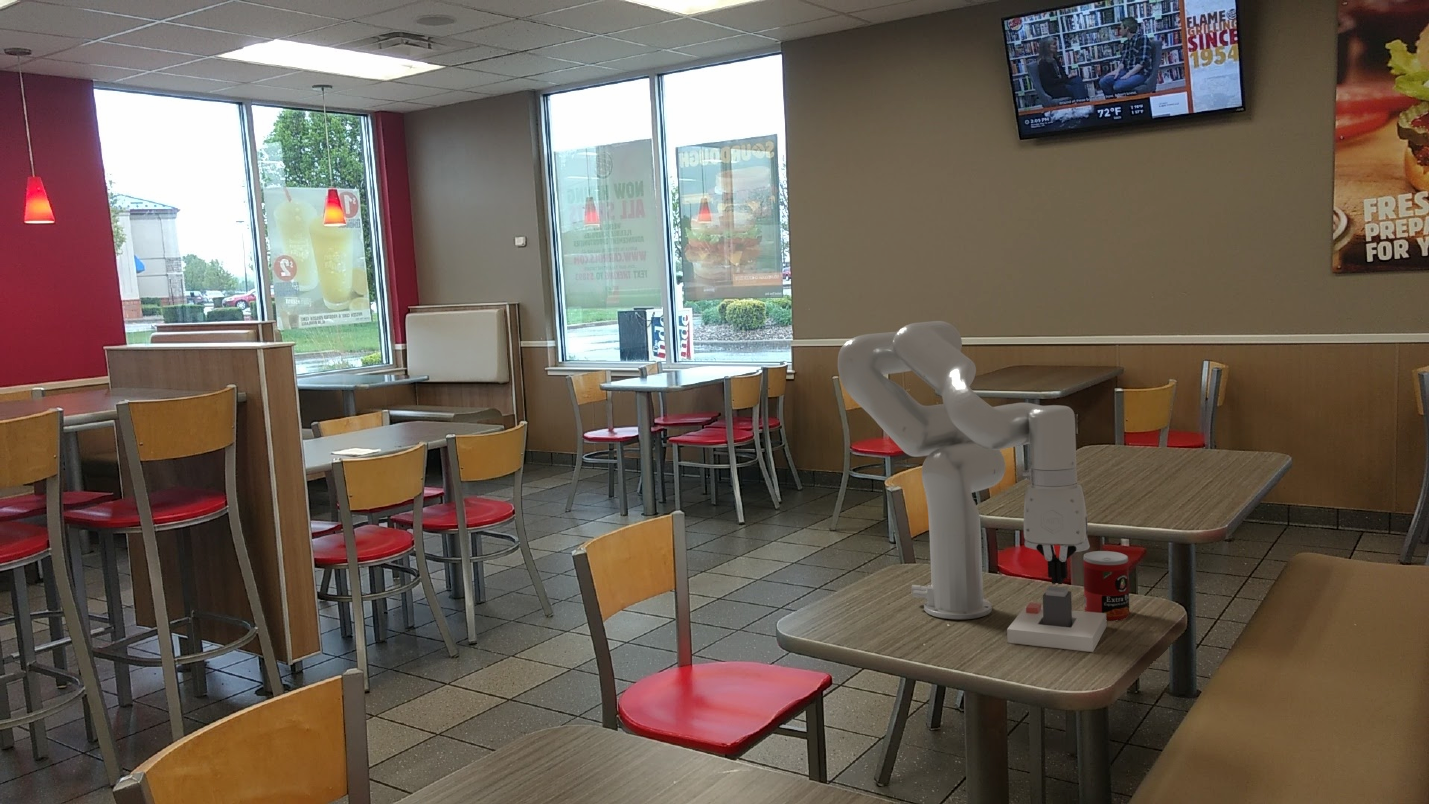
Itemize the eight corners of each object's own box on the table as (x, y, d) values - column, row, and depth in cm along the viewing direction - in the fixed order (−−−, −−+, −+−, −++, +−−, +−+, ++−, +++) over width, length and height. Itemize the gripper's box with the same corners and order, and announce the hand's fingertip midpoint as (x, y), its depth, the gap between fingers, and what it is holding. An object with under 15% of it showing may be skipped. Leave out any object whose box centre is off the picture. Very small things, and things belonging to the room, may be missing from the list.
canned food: (1107, 624, 185) (1105, 563, 184) (1075, 612, 192) (1073, 554, 191) (1139, 616, 188) (1138, 557, 187) (1106, 605, 195) (1105, 548, 194)
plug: (1043, 634, 180) (1042, 591, 179) (1048, 628, 184) (1047, 585, 183) (1067, 637, 178) (1066, 593, 177) (1072, 630, 182) (1071, 587, 181)
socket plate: (1007, 642, 178) (1006, 623, 178) (1026, 618, 190) (1025, 600, 190) (1092, 652, 171) (1092, 632, 171) (1106, 626, 183) (1106, 607, 183)
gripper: (1004, 480, 178) (1009, 584, 180) (1095, 482, 171) (1100, 591, 173) (1015, 473, 185) (1019, 574, 187) (1103, 474, 178) (1107, 579, 179)
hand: (1058, 581), depth 180 cm, fingers closed
